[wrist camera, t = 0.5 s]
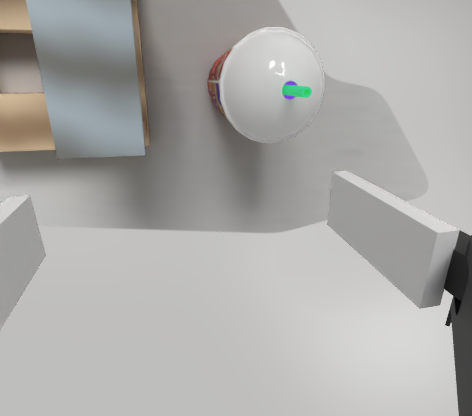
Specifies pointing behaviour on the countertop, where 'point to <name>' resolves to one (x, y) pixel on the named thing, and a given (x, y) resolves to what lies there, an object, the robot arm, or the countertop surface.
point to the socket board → (78, 80)
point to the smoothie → (268, 84)
